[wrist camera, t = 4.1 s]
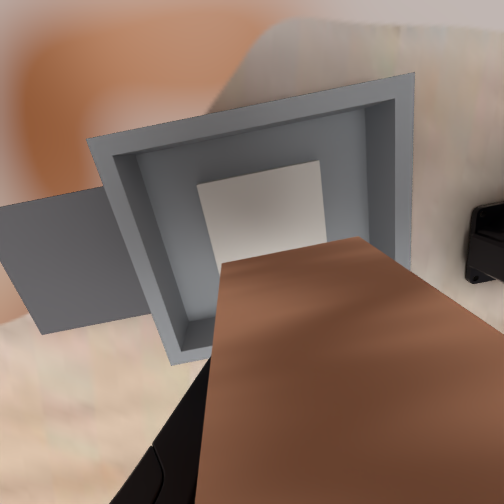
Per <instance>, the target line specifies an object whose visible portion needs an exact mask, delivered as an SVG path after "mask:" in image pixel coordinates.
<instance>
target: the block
mask: <svg viewBox="0 0 504 504" xmlns="http://www.w3.org/2000/svg"><path fill="white" fill-rule="evenodd" d="M195 504H504V334H502V333H501V332H499V331H498V330H496V329H495V328H493V327H492V326H490V325H489V324H487V323H486V322H484V321H483V320H482V319H480V318H479V317H477V316H476V315H474V314H473V313H471V312H470V311H468V310H467V309H465V308H464V307H462V306H461V305H459V304H458V303H456V302H455V301H453V300H452V299H451V298H449V297H448V296H446V295H445V294H443V293H442V292H440V291H439V290H437V289H436V288H434V287H433V286H431V285H430V284H428V283H427V282H425V281H424V280H423V279H421V278H420V277H418V276H417V275H415V274H414V273H412V272H411V271H409V270H408V269H406V268H405V267H403V266H402V265H400V264H399V263H397V262H396V261H395V260H393V259H392V258H390V257H389V256H387V255H386V254H384V253H383V252H381V251H380V250H378V249H377V248H375V247H374V246H372V245H371V244H369V243H368V242H366V241H365V240H364V239H362V238H361V237H359V236H356V237H351V238H346V239H341V240H336V241H331V242H326V243H321V244H316V245H311V246H306V247H301V248H296V249H291V250H286V251H281V252H276V253H271V254H266V255H261V256H256V257H251V258H246V259H241V260H236V261H231V262H226V263H222V264H221V273H220V282H219V291H218V300H217V309H216V318H215V327H214V336H213V345H212V354H211V363H210V372H209V381H208V390H207V399H206V408H205V417H204V426H203V435H202V443H201V452H200V461H199V470H198V479H197V488H196V497H195Z"/></svg>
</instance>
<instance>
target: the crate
mask: <svg viewBox="0 0 504 504" xmlns="http://www.w3.org/2000/svg"><path fill="white" fill-rule="evenodd" d="M414 85H415V72H413V73H408V74H403V75H398V76H394V77H389V78H384V79H379V80H374V81H369V82H364V83H359V84H354V85H349V86H344V87H339V88H334V89H330V90H325V91H320V92H315V93H310V94H305V95H300V96H295V97H290V98H285V99H280V100H275V101H270V102H266V103H261V104H256V105H251V106H246V107H241V108H236V109H231V110H226V111H221V112H216V113H211V114H206V115H202V116H197V117H192V118H187V119H182V120H177V121H172V122H167V123H162V124H157V125H152V126H147V127H143V128H138V129H133V130H128V131H123V132H118V133H113V134H108V135H103V136H98V137H93V138H88V139H86V141H87V143H88V146H89V149H90V151H91V154H92V157H93V159H94V162H95V165H96V167H97V170H98V172H99V175H100V178H101V181H102V183H103V186H104V189H105V191H106V194H107V197H108V199H109V202H110V205H111V207H112V210H113V213H114V215H115V218H116V221H117V223H118V226H119V229H120V231H121V234H122V236H123V239H124V242H125V244H126V247H127V250H128V252H129V255H130V258H131V260H132V263H133V266H134V268H135V271H136V274H137V276H138V279H139V282H140V284H141V287H142V290H143V292H144V295H145V298H146V300H147V303H148V306H149V308H150V311H151V314H152V316H153V319H154V322H155V324H156V327H157V330H158V332H159V335H160V337H161V340H162V343H163V345H164V348H165V351H166V353H167V356H168V359H169V361H170V364H171V366H172V365H177V364H182V363H188V362H193V361H198V360H203V359H208V358H210V356H211V354H212V345H213V336H214V327H215V318H216V309H217V300H218V291H219V282H220V273H221V264H222V263H226V262H231V261H236V260H241V259H246V258H251V257H256V256H261V255H266V254H271V253H276V252H281V251H286V250H291V249H296V248H301V247H306V246H311V245H316V244H321V243H326V242H331V241H336V240H341V239H346V238H351V237H356V236H359V237H361V238H362V239H364V240H365V241H366V242H368V243H369V244H371V245H372V246H374V247H375V248H377V249H378V250H380V251H381V252H383V253H384V254H386V255H387V256H389V257H390V258H392V259H393V260H395V261H396V262H397V263H399V264H400V265H402V266H403V267H405V268H406V269H408V270H409V271H410V263H411V218H412V174H413V129H414Z"/></svg>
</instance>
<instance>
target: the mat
mask: <svg viewBox="0 0 504 504" xmlns="http://www.w3.org/2000/svg"><path fill="white" fill-rule="evenodd" d="M0 262H1V263H2V265H3V267H4V269H5V271H6V272H7V274H8V276H9V278H10V279H11V281H12V283H13V285H14V286H15V288H16V290H17V292H18V293H19V295H20V297H21V299H22V300H23V302H24V304H25V306H26V308H27V309H28V311H29V313H30V315H31V317H32V318H33V320H34V322H35V324H36V325H37V327H38V329H39V331H40V333H41V334H42V335H44V334H49V333H54V332H59V331H64V330H69V329H74V328H80V327H85V326H90V325H95V324H100V323H105V322H110V321H115V320H120V319H125V318H130V317H136V316H141V315H146V314H151V311H150V308H149V306H148V303H147V300H146V298H145V295H144V292H143V290H142V287H141V284H140V282H139V279H138V276H137V274H136V271H135V268H134V266H133V263H132V260H131V258H130V255H129V252H128V250H127V247H126V244H125V242H124V239H123V236H122V234H121V231H120V229H119V226H118V223H117V221H116V218H115V215H114V213H113V210H112V207H111V205H110V202H109V199H108V197H107V194H106V191H105V189H104V186H102V187H97V188H93V189H87V190H82V191H77V192H72V193H67V194H62V195H57V196H53V197H47V198H42V199H37V200H33V201H28V202H22V203H18V204H12V205H8V206H3V207H0Z"/></svg>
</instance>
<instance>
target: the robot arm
mask: <svg viewBox="0 0 504 504" xmlns="http://www.w3.org/2000/svg"><path fill="white" fill-rule="evenodd" d="M481 212H482V214H481V215H480V213H481ZM474 276H475V277H474ZM473 277H474V278H473ZM466 280H467V281H468V282H470V283H472V284H477V283H482V282H487V281H492V280H499V281H501V282H503V283H504V202H499V203H494V204H489V205H484V206H479V207H477V208H476V209H475V210H474V211H473V214H472V223H471V232H470V242H469V252H468V261H467V271H466ZM210 363H211V356H210V358H209V359H208V361H207V362H206V364H205V365H204V367H203V368H202V370H201V371H200V373H199V374H198V376H197V377H196V379H195V380H194V382H193V383H192V385H191V386H190V388H189V389H188V391H187V392H186V394H185V395H184V397H183V398H182V400H181V401H180V403H179V404H178V405H177V407H176V408H175V410H174V411H173V413H172V414H171V416H170V417H169V419H168V420H167V422H166V423H165V425H164V426H163V428H162V429H161V431H160V432H159V434H158V435H157V437H156V438H155V440H154V441H153V443H152V445H153V446H150V447H149V448H148V450H147V451H146V453H145V454H144V456H143V457H142V459H141V460H140V462H139V463H138V465H137V466H136V467H135V469H134V470H133V472H132V473H131V475H130V476H129V477H128V479H127V480H126V482H125V483H124V485H123V486H122V487H121V489H120V490H119V491H118V493H117V494H116V495H115V497H114V498H113V499H112V501H111V502H110V503H109V504H195V497H196V488H197V479H198V470H199V461H200V452H201V443H202V435H203V426H204V417H205V408H206V399H207V390H208V381H209V372H210Z"/></svg>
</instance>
